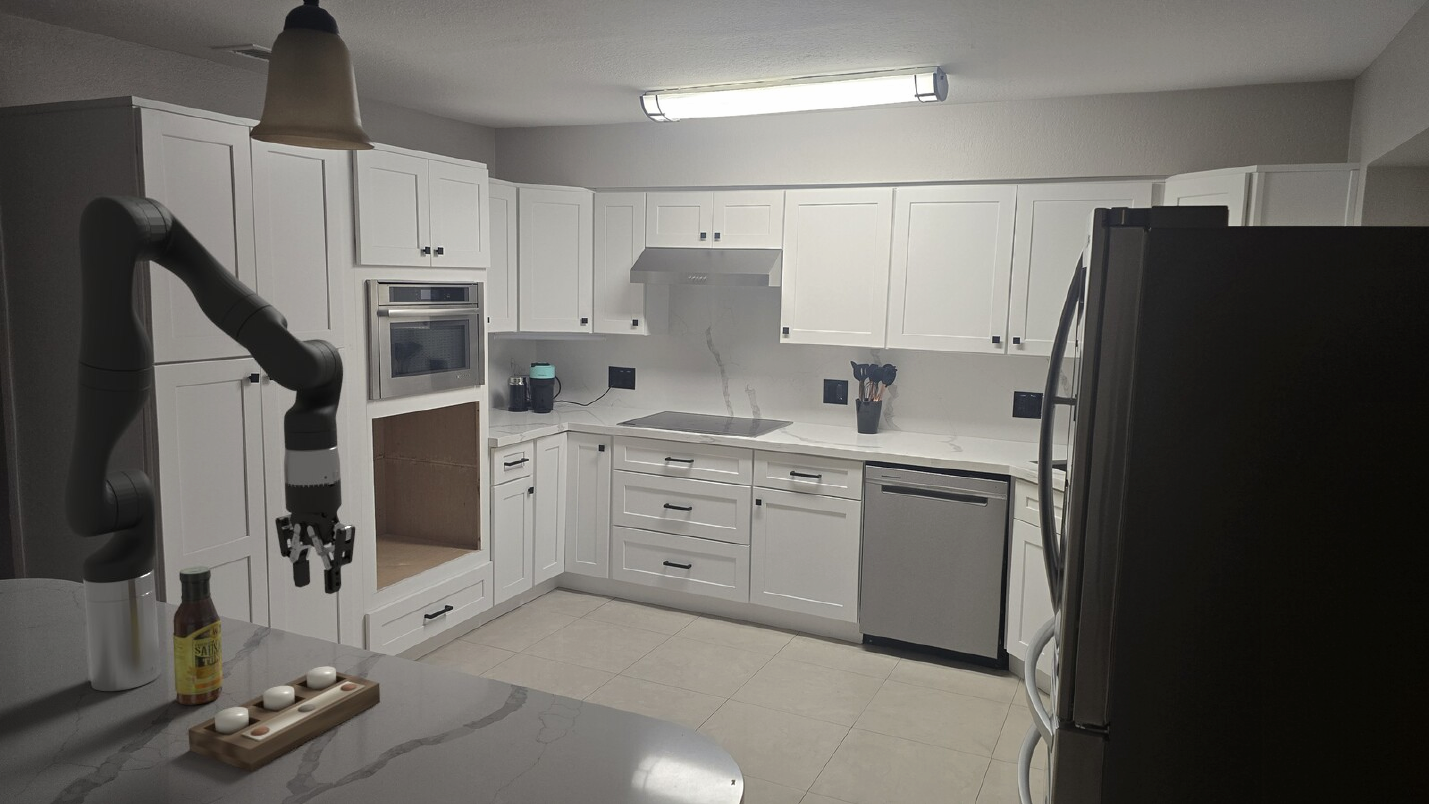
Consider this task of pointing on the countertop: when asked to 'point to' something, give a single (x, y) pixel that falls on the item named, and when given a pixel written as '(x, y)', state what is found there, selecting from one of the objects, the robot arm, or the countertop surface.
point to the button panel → (285, 722)
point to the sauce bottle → (197, 640)
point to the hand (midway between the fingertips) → (317, 588)
